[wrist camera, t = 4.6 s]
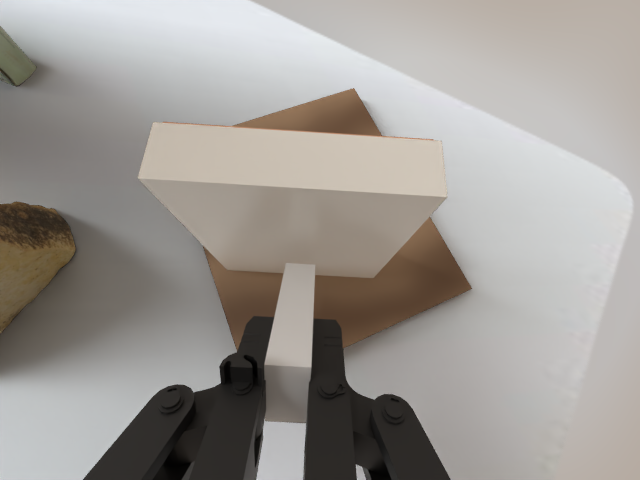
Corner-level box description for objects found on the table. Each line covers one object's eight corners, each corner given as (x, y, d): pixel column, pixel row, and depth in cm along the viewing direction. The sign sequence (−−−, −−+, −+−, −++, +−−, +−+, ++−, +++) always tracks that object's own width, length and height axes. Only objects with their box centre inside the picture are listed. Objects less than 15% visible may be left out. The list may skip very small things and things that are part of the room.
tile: (373, 278, 21) (447, 197, 10) (227, 270, 21) (137, 178, 10) (372, 245, 22) (441, 136, 11) (232, 237, 22) (154, 117, 11)
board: (176, 154, 26) (169, 145, 24) (352, 98, 28) (353, 88, 27) (253, 389, 20) (250, 391, 19) (463, 291, 23) (472, 288, 22)
